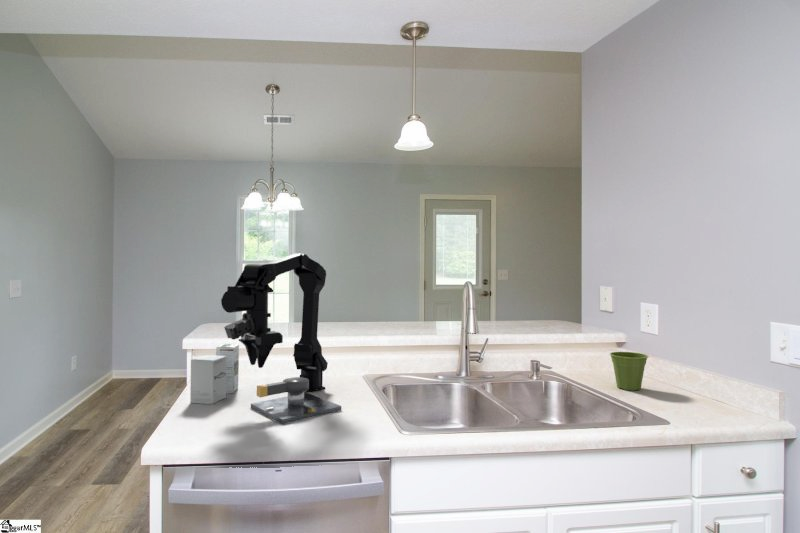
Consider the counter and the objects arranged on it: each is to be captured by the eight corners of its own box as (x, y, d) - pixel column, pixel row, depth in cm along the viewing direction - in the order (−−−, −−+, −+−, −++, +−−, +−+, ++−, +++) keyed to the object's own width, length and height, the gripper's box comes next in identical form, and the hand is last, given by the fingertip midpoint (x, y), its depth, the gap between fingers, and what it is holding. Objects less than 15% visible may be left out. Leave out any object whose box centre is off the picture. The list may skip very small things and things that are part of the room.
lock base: (306, 396, 149) (307, 379, 149) (341, 410, 135) (341, 391, 135) (250, 407, 137) (250, 389, 136) (282, 424, 123) (282, 403, 123)
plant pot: (636, 383, 169) (637, 351, 169) (655, 393, 157) (656, 358, 157) (602, 383, 169) (603, 351, 169) (619, 392, 157) (619, 357, 157)
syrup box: (219, 389, 156) (220, 343, 156) (238, 389, 157) (239, 343, 156) (214, 394, 150) (215, 346, 150) (234, 393, 151) (234, 346, 151)
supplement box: (212, 404, 139) (213, 360, 139) (189, 402, 141) (189, 359, 141) (227, 397, 147) (227, 355, 146) (204, 396, 148) (205, 354, 148)
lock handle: (300, 385, 141) (300, 376, 141) (313, 389, 136) (313, 380, 136) (252, 393, 131) (252, 384, 131) (264, 399, 126) (264, 389, 126)
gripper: (214, 308, 136) (214, 364, 136) (243, 314, 122) (243, 376, 123) (252, 306, 144) (252, 359, 144) (283, 311, 130) (283, 370, 130)
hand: (256, 366), depth 135 cm, fingers open, 4 cm apart
